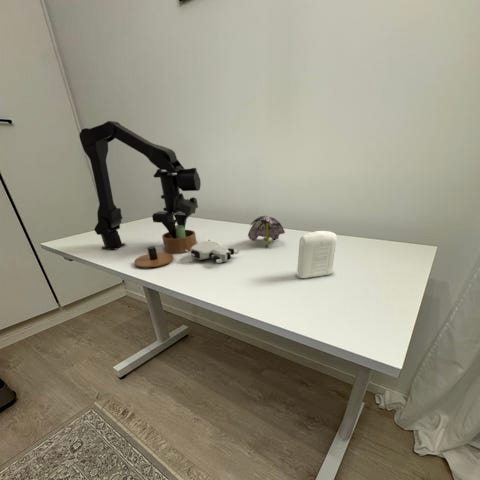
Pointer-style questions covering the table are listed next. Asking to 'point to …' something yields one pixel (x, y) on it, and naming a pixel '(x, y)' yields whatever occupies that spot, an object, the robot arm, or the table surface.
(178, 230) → the candle
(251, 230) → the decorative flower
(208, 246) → the robot toy
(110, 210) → the robot arm
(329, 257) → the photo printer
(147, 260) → the wooden lid
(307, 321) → the table surface
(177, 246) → the brown shallow round container
